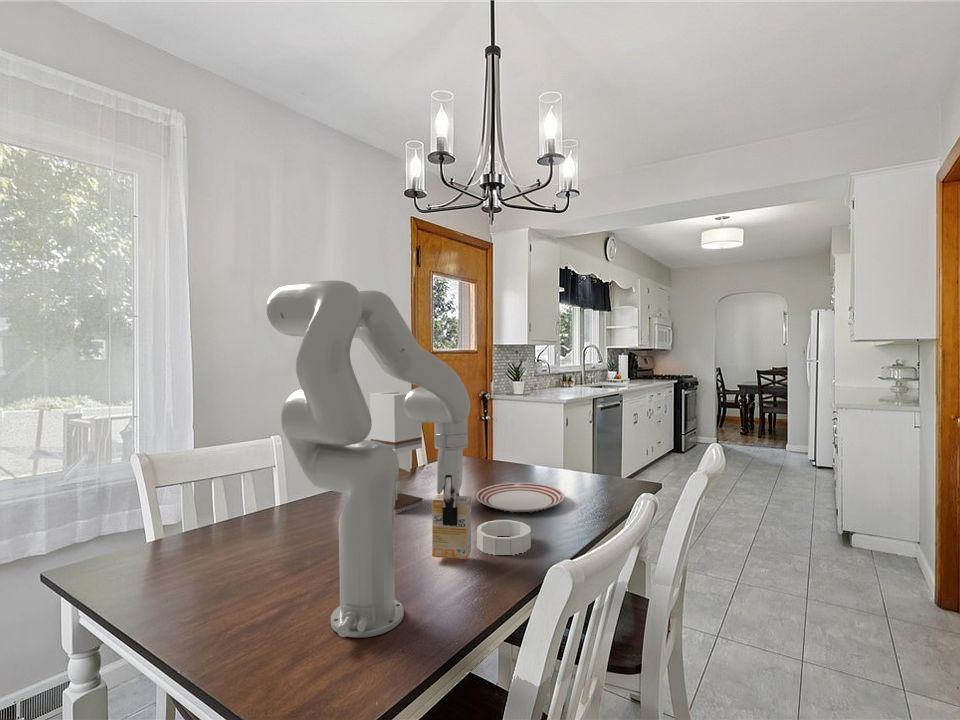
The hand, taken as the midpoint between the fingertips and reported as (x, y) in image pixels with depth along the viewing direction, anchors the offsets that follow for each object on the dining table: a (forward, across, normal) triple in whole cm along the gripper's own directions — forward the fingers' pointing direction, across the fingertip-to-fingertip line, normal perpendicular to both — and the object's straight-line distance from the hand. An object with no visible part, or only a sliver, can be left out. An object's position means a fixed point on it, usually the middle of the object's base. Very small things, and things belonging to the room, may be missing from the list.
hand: (451, 519), depth 114 cm
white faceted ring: (+9, -10, +12) cm, 18 cm away
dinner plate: (+9, -44, +16) cm, 48 cm away
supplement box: (+8, 0, 0) cm, 8 cm away
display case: (+9, -40, -22) cm, 47 cm away
